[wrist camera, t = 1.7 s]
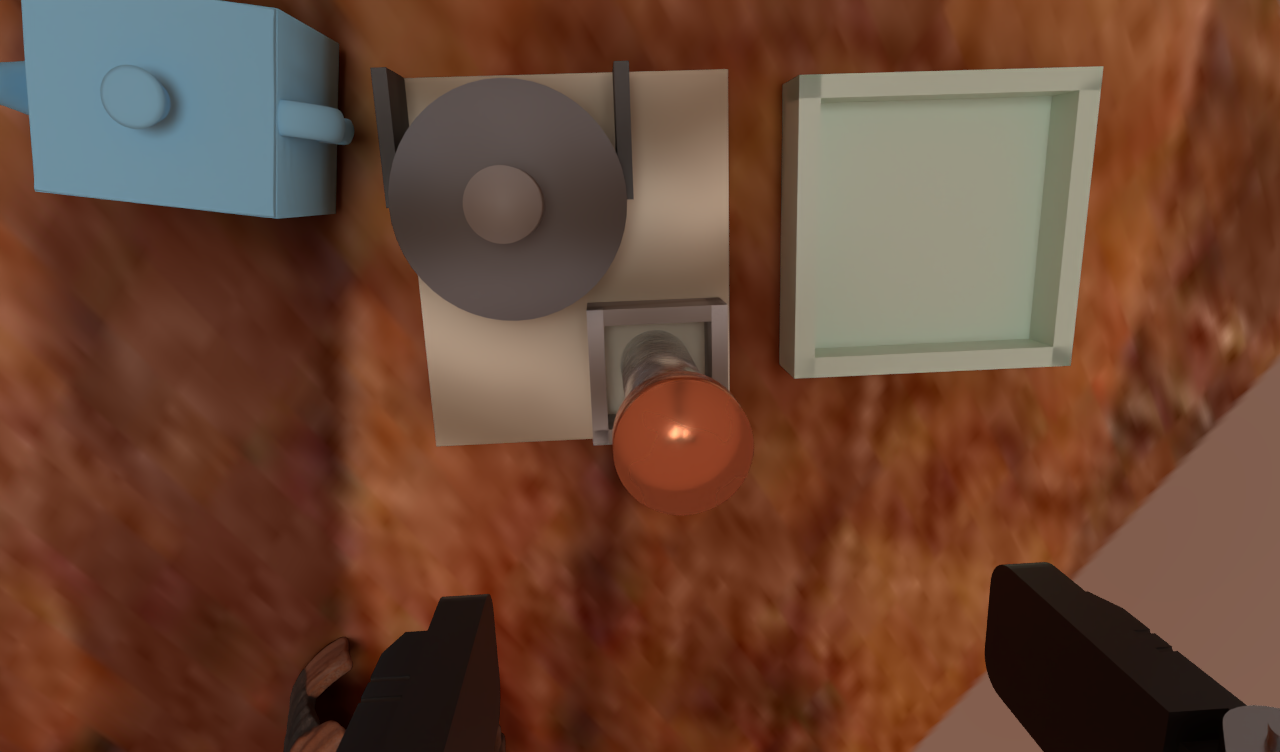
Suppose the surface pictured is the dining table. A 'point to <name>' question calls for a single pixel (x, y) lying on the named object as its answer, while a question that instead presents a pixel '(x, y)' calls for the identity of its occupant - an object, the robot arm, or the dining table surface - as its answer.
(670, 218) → the pulley board
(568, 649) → the dining table surface
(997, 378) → the dining table surface
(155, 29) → the teapot
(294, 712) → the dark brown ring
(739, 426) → the pin
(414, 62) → the dining table surface
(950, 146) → the tray
